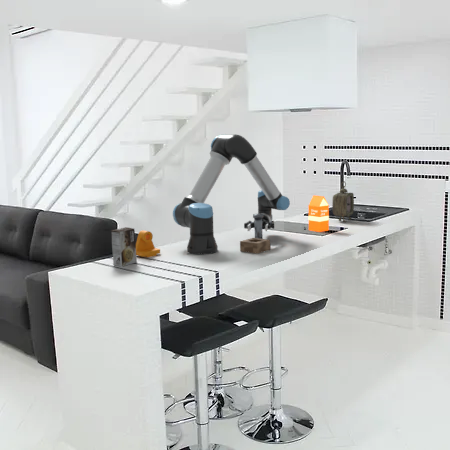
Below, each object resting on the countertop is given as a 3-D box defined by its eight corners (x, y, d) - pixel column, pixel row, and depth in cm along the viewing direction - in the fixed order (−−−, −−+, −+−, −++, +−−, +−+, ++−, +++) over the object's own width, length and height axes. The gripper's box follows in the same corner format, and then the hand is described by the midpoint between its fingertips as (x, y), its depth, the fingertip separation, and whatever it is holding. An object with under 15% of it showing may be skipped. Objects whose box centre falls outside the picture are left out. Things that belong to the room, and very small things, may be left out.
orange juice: (319, 232, 330) (319, 197, 327) (308, 230, 338) (308, 195, 334) (329, 230, 335) (329, 195, 332) (318, 228, 342) (317, 194, 339)
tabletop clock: (345, 223, 357) (345, 182, 353) (331, 222, 362) (331, 182, 358) (353, 219, 369) (353, 180, 365) (340, 218, 374) (340, 180, 370)
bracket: (142, 258, 278) (141, 233, 276) (134, 256, 283) (133, 231, 281) (161, 254, 285) (160, 230, 283) (152, 252, 290) (151, 228, 288)
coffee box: (127, 261, 273) (125, 227, 270) (137, 262, 269) (135, 228, 266) (112, 264, 266) (110, 230, 263) (122, 266, 262) (119, 231, 259)
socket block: (257, 253, 279) (257, 243, 279) (240, 251, 286) (240, 241, 285) (270, 249, 287) (270, 239, 286) (253, 247, 294) (253, 237, 293)
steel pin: (253, 246, 297) (252, 215, 295) (254, 244, 302) (253, 213, 300) (263, 246, 296) (262, 215, 294) (264, 244, 301) (263, 213, 299)
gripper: (282, 228, 314) (278, 235, 292) (243, 228, 318) (236, 235, 296) (282, 214, 312) (277, 221, 290) (243, 214, 316) (236, 221, 294)
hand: (257, 228), depth 293 cm, fingers open, 8 cm apart
